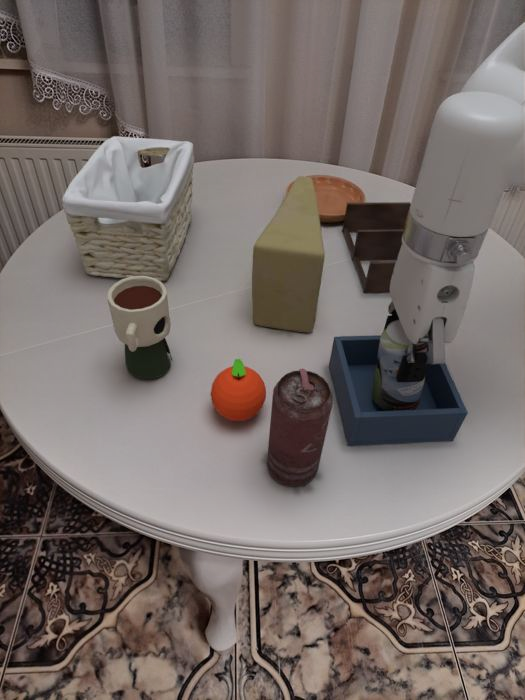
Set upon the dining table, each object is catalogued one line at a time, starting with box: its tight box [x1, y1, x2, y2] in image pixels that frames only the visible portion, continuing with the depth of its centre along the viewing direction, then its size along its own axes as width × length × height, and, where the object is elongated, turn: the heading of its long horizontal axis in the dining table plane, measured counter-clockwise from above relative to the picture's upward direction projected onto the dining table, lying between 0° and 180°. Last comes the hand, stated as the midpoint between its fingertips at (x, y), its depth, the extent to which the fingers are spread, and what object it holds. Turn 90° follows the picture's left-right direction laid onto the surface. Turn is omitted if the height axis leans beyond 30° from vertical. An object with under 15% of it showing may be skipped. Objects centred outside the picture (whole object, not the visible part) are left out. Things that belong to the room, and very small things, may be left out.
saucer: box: [285, 174, 366, 224], centre depth 103 cm, size 16×16×3 cm
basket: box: [61, 135, 195, 282], centre depth 87 cm, size 24×16×15 cm
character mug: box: [107, 276, 173, 379], centre depth 66 cm, size 11×7×13 cm, turn 177°
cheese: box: [251, 175, 326, 333], centre depth 80 cm, size 22×10×15 cm, turn 170°
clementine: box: [210, 358, 267, 422], centre depth 64 cm, size 8×7×7 cm
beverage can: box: [372, 320, 428, 411], centre depth 63 cm, size 6×7×12 cm
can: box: [266, 368, 334, 487], centre depth 56 cm, size 6×6×14 cm
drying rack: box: [341, 201, 411, 294], centre depth 89 cm, size 12×19×6 cm, turn 5°
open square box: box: [328, 334, 469, 447], centre depth 66 cm, size 14×14×6 cm
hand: (401, 358), depth 63 cm, fingers closed on beverage can, 6 cm apart
